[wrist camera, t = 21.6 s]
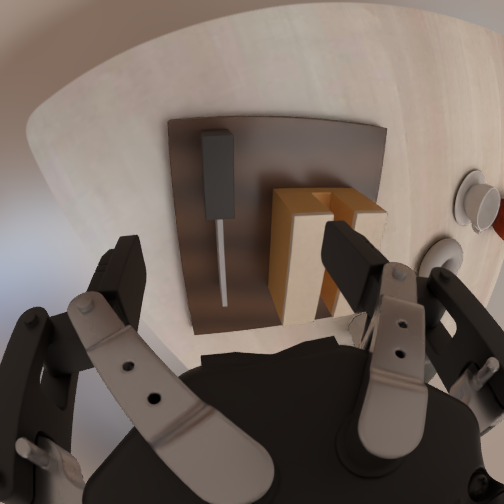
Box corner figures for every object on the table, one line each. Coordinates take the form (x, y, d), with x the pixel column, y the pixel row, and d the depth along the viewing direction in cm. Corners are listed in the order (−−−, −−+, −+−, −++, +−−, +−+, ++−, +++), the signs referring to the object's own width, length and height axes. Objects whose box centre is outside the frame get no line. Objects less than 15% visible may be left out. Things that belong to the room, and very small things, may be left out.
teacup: (456, 172, 31) (478, 184, 27) (487, 167, 31) (507, 177, 27) (448, 230, 36) (467, 244, 32) (479, 218, 36) (497, 230, 33)
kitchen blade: (200, 130, 22) (201, 135, 19) (228, 128, 22) (233, 134, 19) (211, 286, 31) (214, 311, 28) (232, 284, 31) (237, 308, 28)
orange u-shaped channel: (272, 188, 26) (294, 216, 21) (353, 187, 28) (388, 212, 22) (267, 286, 32) (282, 327, 27) (336, 278, 34) (359, 313, 28)
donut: (424, 236, 36) (407, 289, 41) (438, 247, 33) (419, 301, 38) (459, 232, 37) (443, 279, 42) (472, 241, 34) (454, 290, 39)
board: (169, 120, 22) (167, 121, 21) (379, 126, 26) (387, 128, 24) (194, 327, 36) (194, 335, 35) (344, 306, 39) (348, 313, 38)
